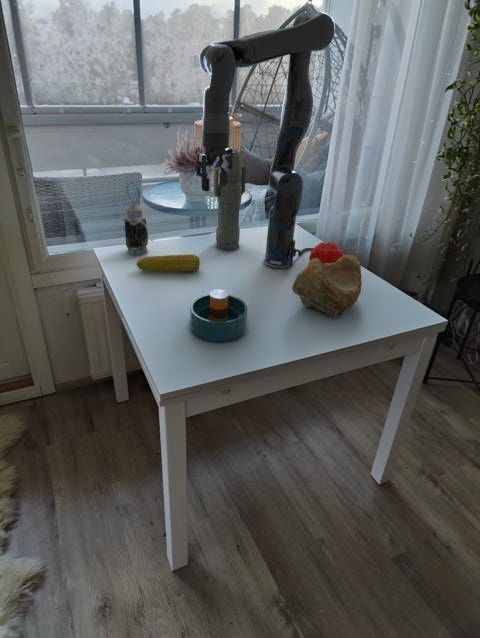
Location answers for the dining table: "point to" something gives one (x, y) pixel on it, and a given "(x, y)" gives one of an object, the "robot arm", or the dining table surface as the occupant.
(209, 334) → the bowl
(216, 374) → the dining table surface
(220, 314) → the tube
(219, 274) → the dining table surface
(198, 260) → the food
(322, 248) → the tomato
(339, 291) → the rough brown rock
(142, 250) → the lantern
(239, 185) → the thermos
